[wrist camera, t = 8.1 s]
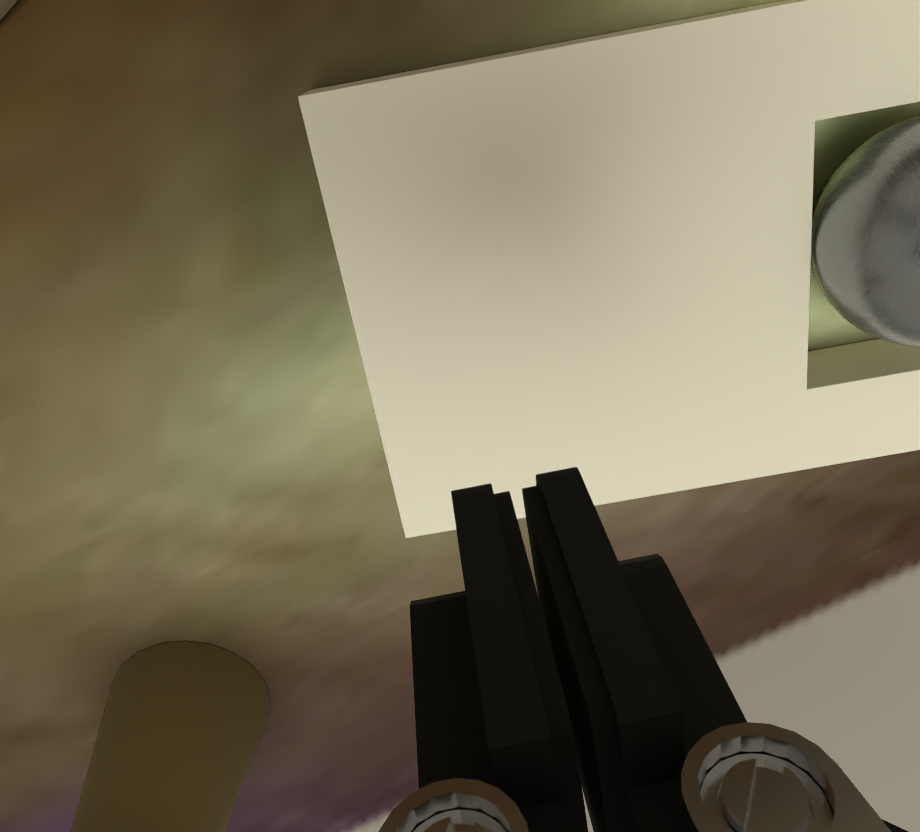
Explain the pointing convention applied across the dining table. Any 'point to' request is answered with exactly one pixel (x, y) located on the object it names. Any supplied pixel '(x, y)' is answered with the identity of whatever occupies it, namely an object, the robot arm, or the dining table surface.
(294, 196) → the dining table surface
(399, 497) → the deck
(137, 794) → the cork
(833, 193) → the ball
